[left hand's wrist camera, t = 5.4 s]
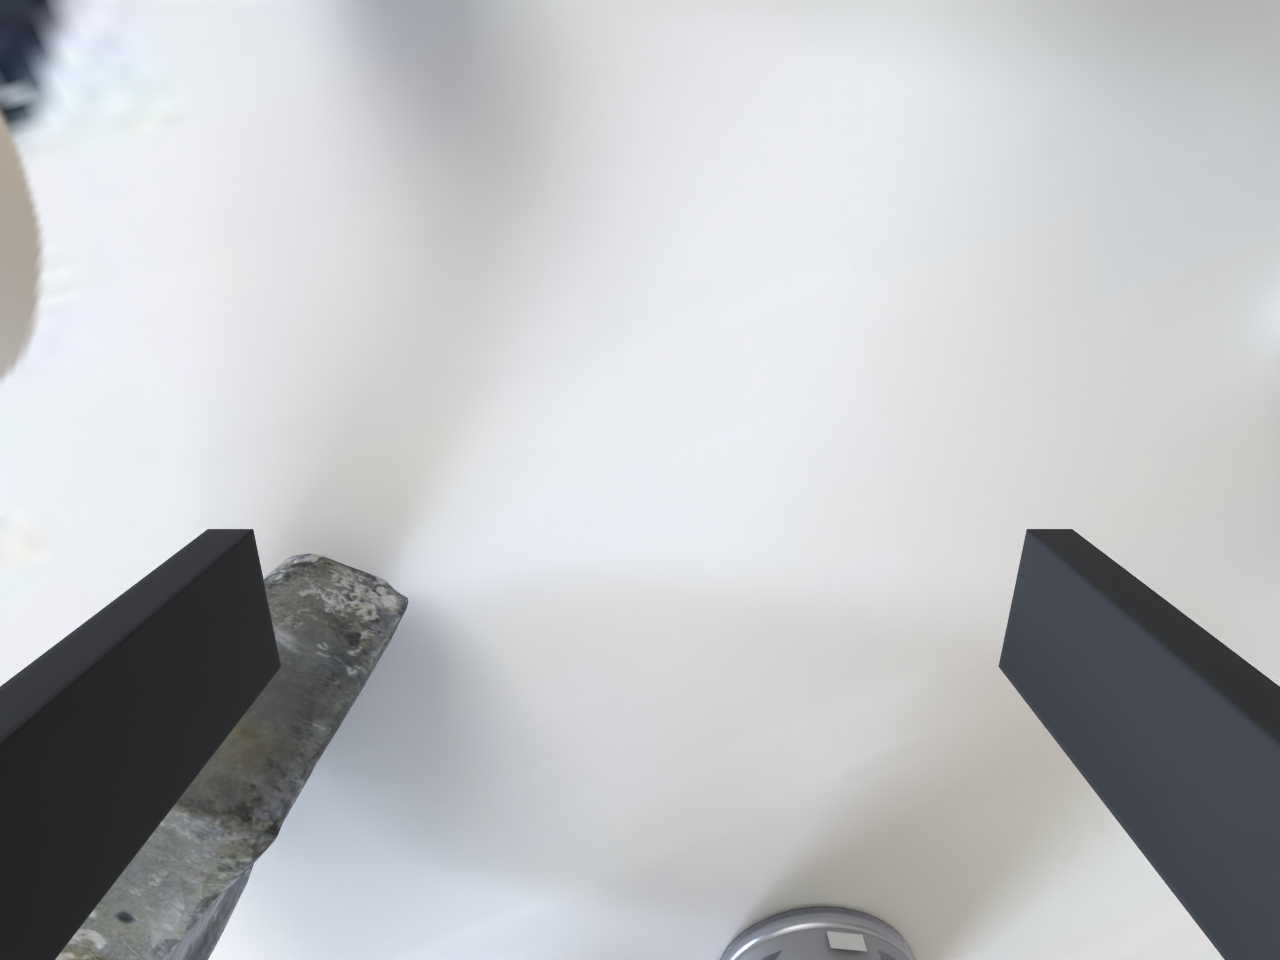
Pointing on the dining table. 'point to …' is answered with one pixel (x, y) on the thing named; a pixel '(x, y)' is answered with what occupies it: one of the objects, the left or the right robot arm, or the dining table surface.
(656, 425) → the dining table surface
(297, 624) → the concrete block
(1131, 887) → the dining table surface
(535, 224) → the dining table surface
